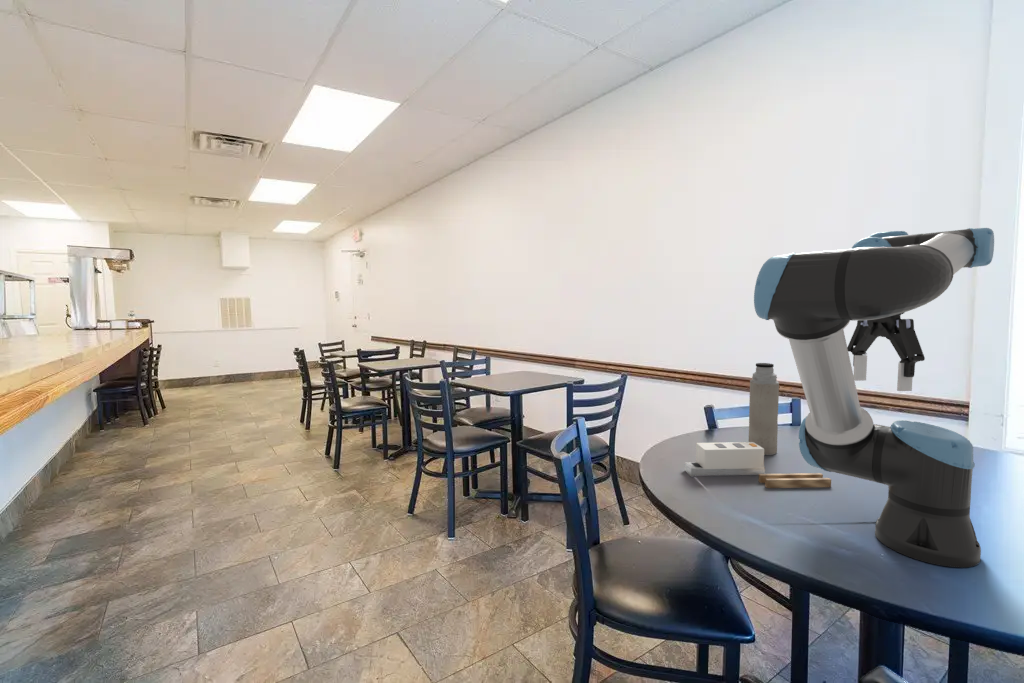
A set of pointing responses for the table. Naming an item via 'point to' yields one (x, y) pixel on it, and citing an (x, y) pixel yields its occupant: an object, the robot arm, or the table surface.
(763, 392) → the thermos bottle
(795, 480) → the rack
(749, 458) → the power strip
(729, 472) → the keyhole plate
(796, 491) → the table surface
